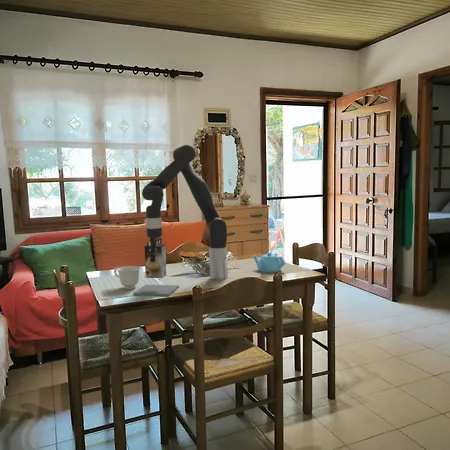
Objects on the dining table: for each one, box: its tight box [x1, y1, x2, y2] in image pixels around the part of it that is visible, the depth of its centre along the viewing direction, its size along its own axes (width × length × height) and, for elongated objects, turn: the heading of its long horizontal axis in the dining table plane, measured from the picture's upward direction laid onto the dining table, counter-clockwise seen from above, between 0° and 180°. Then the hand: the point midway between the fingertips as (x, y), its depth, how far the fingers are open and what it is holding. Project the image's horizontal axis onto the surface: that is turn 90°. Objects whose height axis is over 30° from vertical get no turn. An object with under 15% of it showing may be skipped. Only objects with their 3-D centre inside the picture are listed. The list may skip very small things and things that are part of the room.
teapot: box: [253, 251, 286, 274], centre depth 251 cm, size 15×15×11 cm
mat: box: [132, 284, 180, 297], centre depth 212 cm, size 18×16×1 cm
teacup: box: [113, 265, 142, 290], centre depth 220 cm, size 12×15×10 cm
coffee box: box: [144, 243, 167, 279], centre depth 211 cm, size 9×6×16 cm
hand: (155, 260), depth 211 cm, fingers closed on coffee box, 6 cm apart
